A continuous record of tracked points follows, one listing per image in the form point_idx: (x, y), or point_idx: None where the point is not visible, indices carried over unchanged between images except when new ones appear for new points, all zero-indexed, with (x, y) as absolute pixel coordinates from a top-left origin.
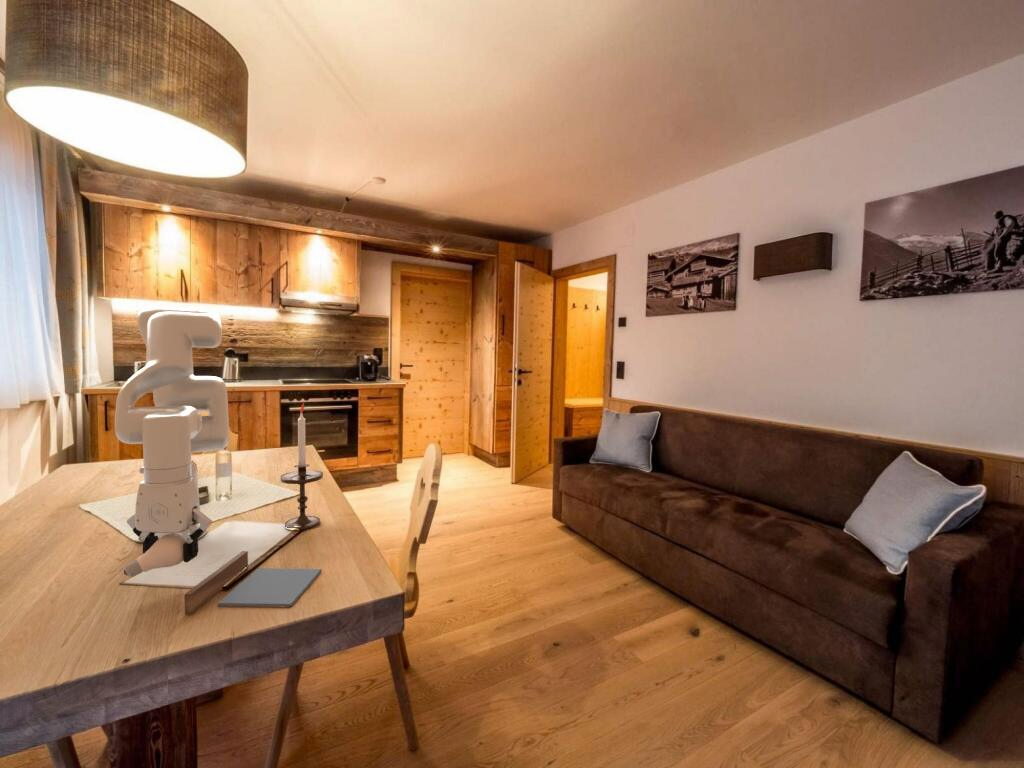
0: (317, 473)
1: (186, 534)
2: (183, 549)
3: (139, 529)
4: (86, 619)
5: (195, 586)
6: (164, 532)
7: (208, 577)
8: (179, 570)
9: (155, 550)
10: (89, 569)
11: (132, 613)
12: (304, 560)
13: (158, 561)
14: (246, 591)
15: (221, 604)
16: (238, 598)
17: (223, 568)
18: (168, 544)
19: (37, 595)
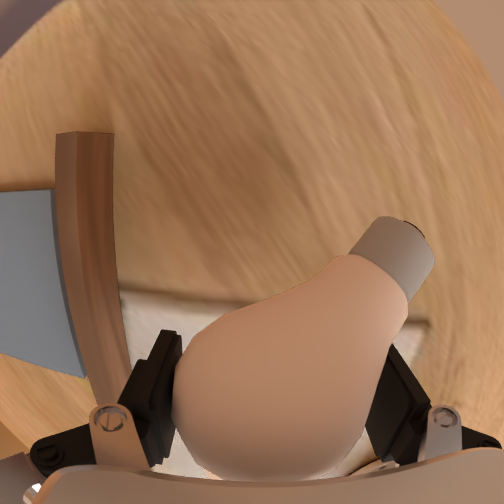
0: None
1: (111, 457)
2: (161, 377)
3: (490, 454)
4: (410, 130)
5: (73, 193)
6: (267, 485)
7: (76, 266)
8: None
9: (318, 348)
10: (492, 365)
11: (298, 145)
12: (36, 395)
13: (281, 299)
14: (23, 255)
15: (44, 190)
16: (19, 218)
17: (80, 332)
18: (240, 398)
19: None
